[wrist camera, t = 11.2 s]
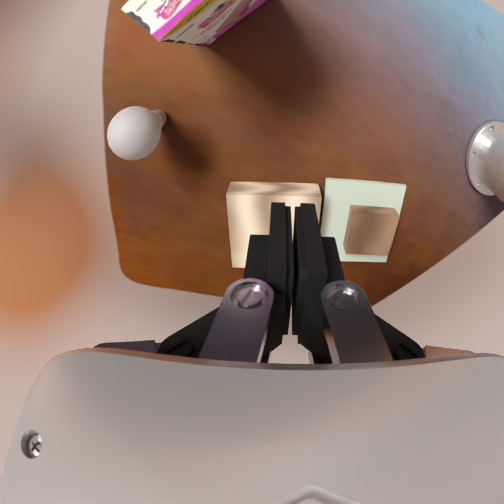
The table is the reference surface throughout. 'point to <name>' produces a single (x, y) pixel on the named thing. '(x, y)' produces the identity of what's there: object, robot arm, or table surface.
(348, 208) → the sage mat
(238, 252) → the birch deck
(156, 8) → the candy bar box
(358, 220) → the walnut block
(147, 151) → the lightbulb
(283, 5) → the table surface
